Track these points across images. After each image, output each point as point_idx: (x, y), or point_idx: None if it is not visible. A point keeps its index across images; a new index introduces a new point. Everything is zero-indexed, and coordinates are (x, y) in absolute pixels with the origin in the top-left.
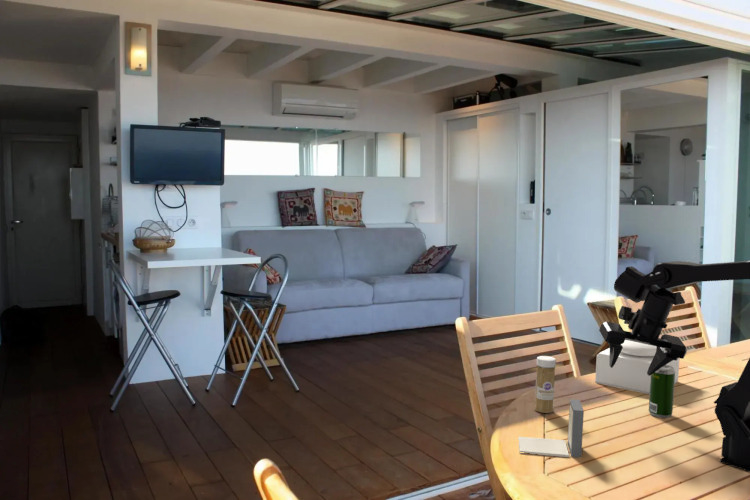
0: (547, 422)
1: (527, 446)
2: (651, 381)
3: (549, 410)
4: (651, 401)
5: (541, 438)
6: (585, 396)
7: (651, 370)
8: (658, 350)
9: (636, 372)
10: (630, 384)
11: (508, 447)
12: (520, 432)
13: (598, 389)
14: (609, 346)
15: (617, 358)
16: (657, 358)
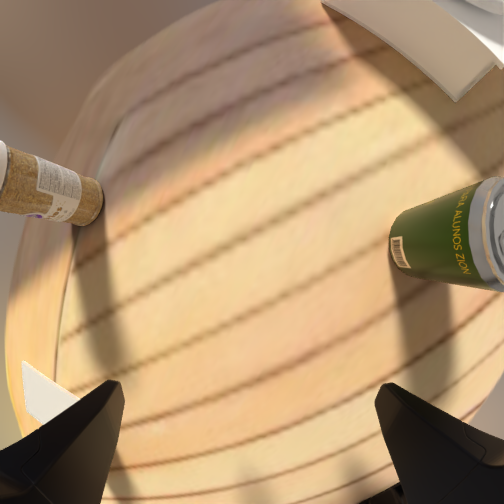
0: (71, 287)
1: (33, 402)
2: (439, 229)
3: (85, 223)
4: (403, 246)
5: (48, 381)
6: (248, 78)
7: (388, 436)
8: (491, 496)
9: (426, 28)
10: (401, 42)
11: (17, 386)
12: (27, 333)
13: (311, 35)
14: (6, 452)
15: (101, 492)
16: (441, 490)
